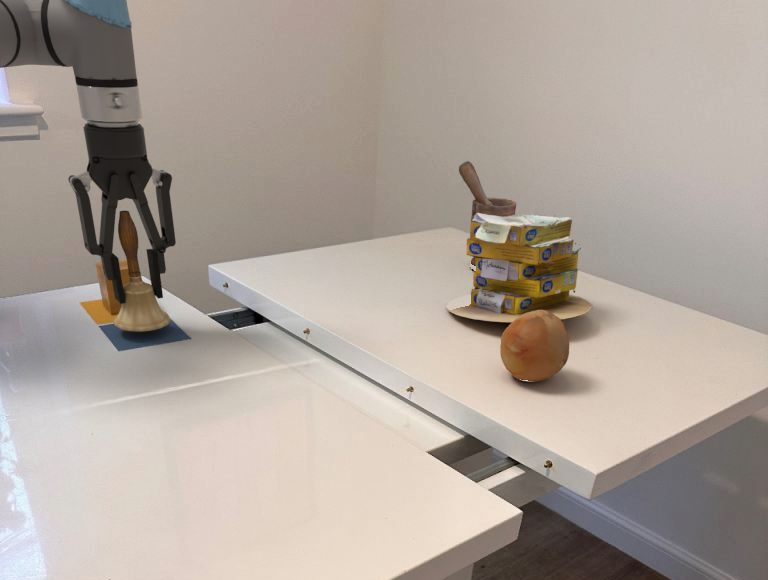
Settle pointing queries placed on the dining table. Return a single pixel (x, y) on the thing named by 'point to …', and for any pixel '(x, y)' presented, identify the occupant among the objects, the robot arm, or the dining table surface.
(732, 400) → the dining table surface
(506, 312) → the stacked boxes on plate
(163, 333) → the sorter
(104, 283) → the block
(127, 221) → the hand bell
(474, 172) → the mortar and pestle
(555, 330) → the onion
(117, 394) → the dining table surface
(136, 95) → the robot arm
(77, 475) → the dining table surface
